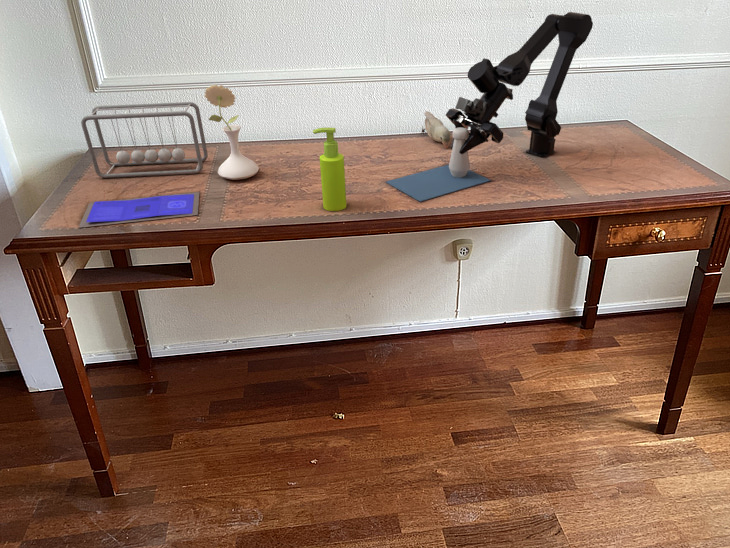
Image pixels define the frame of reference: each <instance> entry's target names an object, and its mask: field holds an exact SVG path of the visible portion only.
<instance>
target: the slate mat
mask: <svg viewBox="0 0 730 548" xmlns="http://www.w3.org/2000/svg"><path fill="white" fill-rule="evenodd" d="M488 182H492V180H491V179H490V178H487V177H485V176H483V175H481V174H479V173H477V172H475V171H473V170H470V169H469V170H468V172H467V174H466V176H465V177H461V178H459V177H454V176H453V175H452V174H451V172H450V169H449V163H448V164H445V165H440V166H437V167H434V168H430V169H426V170H423V171H419V172H415V173H413V174H409V175H404V176H401V177H398V178H393V179H390V180H386V181H385V183H386V184H387V185H389V186H391V187H393V188H395V189H397V190H398V191H400V192H401V193H403V194H405V195H407V196H409V197H410V198H411V199H414V200H416V201H417V202H419V203H422V202H425V201H428V200H432V199H435V198H439V197H442V196H445V195H448V194H452V193H457V192H459V191H463V190H465V189H468V188H473V187H476V186H479V185H482V184H486V183H488Z"/></svg>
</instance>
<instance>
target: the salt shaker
mask: <svg viewBox="0 0 730 548" xmlns="http://www.w3.org/2000/svg"><path fill="white" fill-rule="evenodd" d="M469 133H470V131H469V129H466V128H455V127H454V129H453V130H452V134H451V135H452V139H453V138H455V139H454V143H453V148H452V150H451V153H450V158H449V163H448V164H449V169H450V172H451V174H452V175H453V176H454V177H459V178H461V177H465V176H466V174H467V172H468V170H470V168H471V165H470V158H469V151H467V152H465V153H464V154H460V153H459V151H460V149H461V147H462V146H463V144H464V143H465V141H466V140H467V138H468V136H469Z"/></svg>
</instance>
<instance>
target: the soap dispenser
mask: <svg viewBox="0 0 730 548" xmlns="http://www.w3.org/2000/svg"><path fill="white" fill-rule="evenodd" d="M336 129H337V128H336V127H319V128H314V129H313V130H312V133H313V135H316V134H324V133H326V140H325V141H323V154H321V155H319V158H318V159H319V169H320V182H321V194H322V207H323V209H324V210H326V211H328V212H340V211H342V210H345V209H346V208H347V190H346V171H345V157H344V155H343V154H342V153H340V152H339V143H338V141H337V140H335V134H337V130H336Z"/></svg>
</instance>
